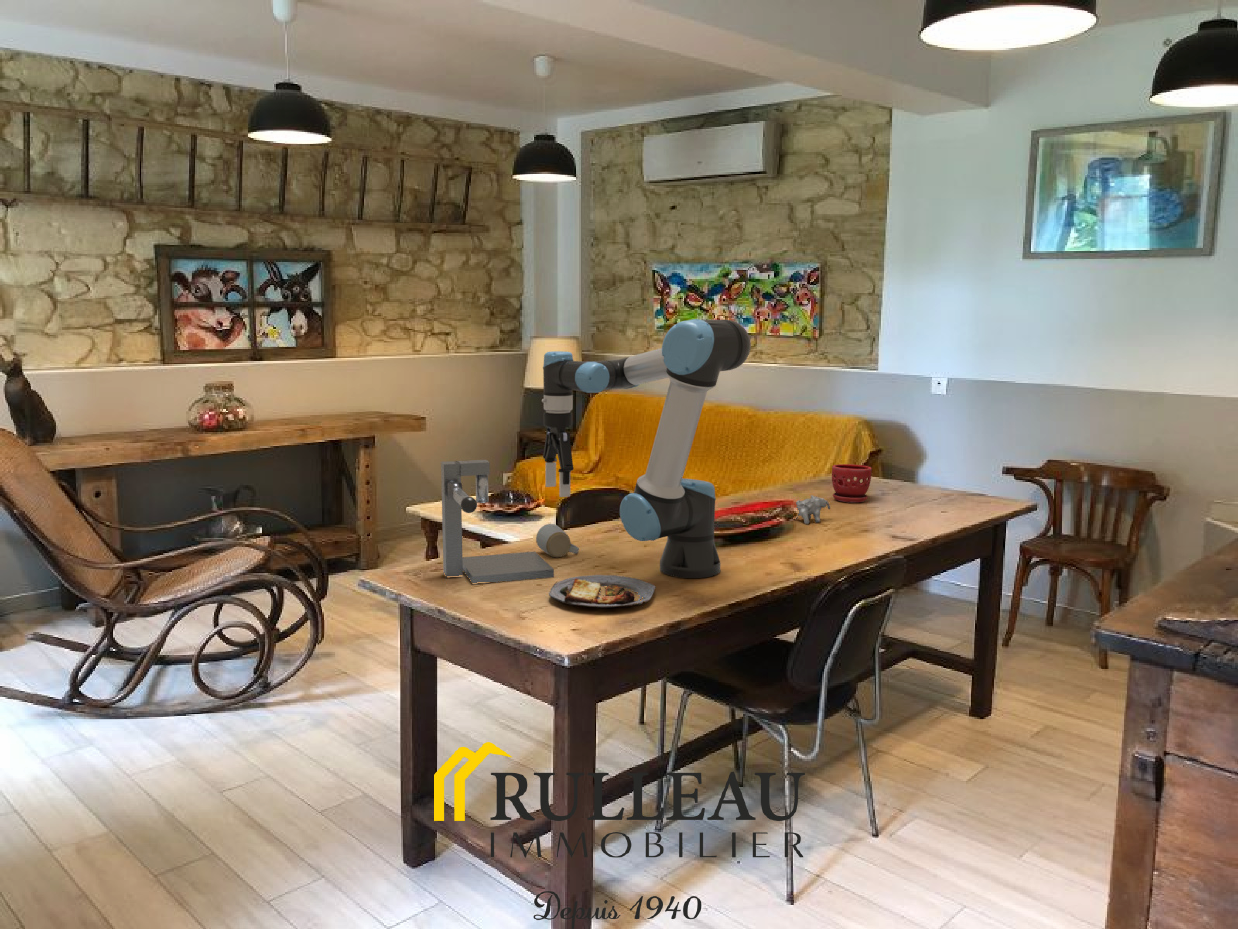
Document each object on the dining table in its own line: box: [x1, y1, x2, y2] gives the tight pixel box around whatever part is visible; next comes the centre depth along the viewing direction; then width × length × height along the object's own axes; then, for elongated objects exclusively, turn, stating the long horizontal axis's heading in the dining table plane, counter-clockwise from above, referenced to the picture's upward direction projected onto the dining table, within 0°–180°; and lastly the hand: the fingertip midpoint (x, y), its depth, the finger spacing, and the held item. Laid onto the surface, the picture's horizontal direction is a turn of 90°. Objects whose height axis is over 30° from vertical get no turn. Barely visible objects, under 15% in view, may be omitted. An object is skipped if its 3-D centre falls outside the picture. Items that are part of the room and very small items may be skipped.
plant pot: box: [831, 463, 872, 504], centre depth 330 cm, size 13×13×12 cm
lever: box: [447, 481, 478, 514], centre depth 221 cm, size 21×4×4 cm, turn 20°
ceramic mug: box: [535, 523, 580, 558], centre depth 257 cm, size 11×8×8 cm
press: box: [440, 459, 555, 584], centre depth 238 cm, size 18×25×28 cm
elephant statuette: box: [795, 494, 831, 525], centre depth 299 cm, size 9×12×8 cm
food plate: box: [548, 574, 657, 609], centre depth 220 cm, size 25×23×4 cm
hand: (557, 491), depth 255 cm, fingers open, 13 cm apart
